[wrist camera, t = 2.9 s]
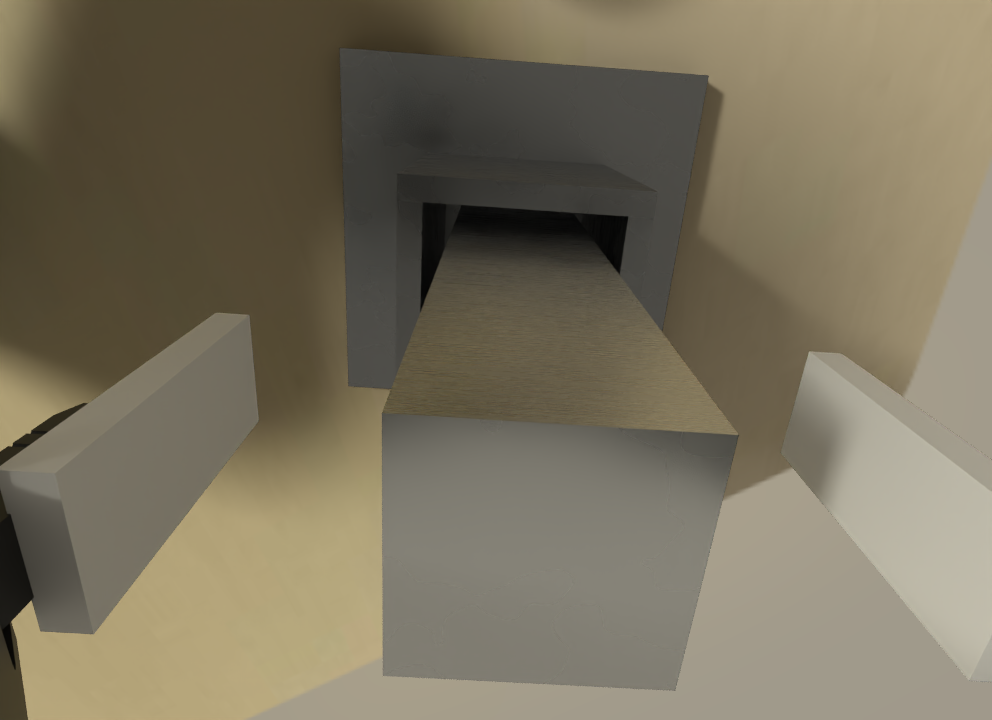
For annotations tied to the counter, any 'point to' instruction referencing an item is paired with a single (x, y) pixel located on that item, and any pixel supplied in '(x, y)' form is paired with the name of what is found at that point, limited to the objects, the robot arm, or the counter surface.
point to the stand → (501, 174)
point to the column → (543, 469)
